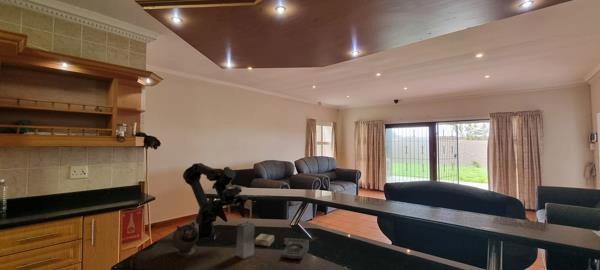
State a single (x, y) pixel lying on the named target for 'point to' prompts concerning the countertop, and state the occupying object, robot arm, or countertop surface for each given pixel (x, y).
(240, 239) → the housing
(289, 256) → the graphics card
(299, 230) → the countertop surface
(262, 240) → the stand
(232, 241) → the countertop surface
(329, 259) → the countertop surface
